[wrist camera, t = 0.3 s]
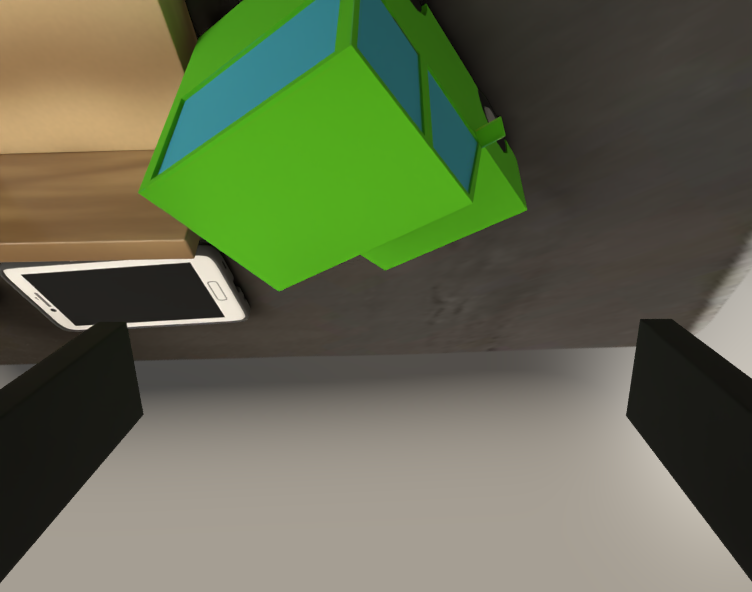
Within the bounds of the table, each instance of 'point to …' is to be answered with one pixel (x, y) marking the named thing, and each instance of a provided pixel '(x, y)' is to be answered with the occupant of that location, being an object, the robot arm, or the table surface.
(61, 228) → the wooden l-shaped bookend
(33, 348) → the table surface
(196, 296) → the cell phone
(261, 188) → the toy car
